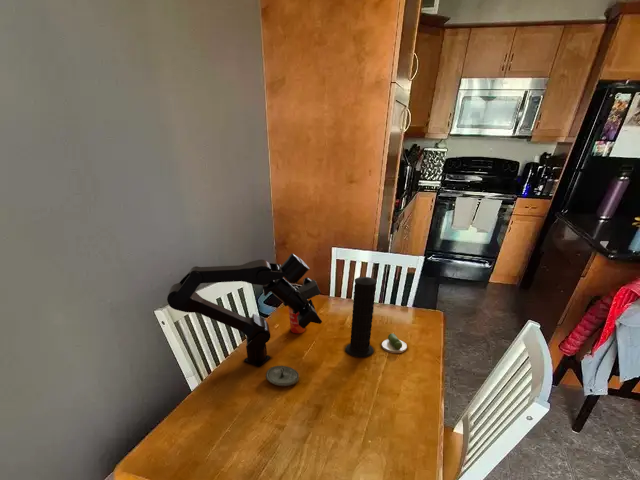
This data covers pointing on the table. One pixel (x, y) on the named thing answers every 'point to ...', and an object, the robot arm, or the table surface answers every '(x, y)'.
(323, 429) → the table surface
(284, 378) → the lid
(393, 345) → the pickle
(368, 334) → the handle grip
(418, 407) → the table surface
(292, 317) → the paper cup
